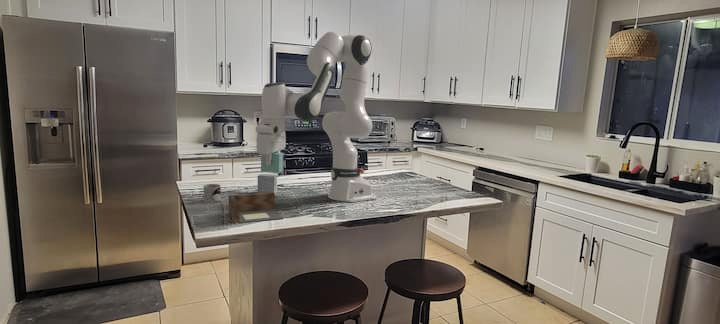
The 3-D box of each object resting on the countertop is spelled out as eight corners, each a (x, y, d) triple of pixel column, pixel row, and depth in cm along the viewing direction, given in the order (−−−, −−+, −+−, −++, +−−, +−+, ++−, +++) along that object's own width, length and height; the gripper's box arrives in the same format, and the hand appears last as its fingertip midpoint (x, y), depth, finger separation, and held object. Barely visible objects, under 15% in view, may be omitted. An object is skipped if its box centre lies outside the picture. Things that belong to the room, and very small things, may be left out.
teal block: (264, 169, 158) (265, 151, 157) (282, 171, 157) (283, 153, 156) (260, 171, 154) (261, 152, 153) (278, 173, 153) (279, 154, 152)
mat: (274, 210, 166) (274, 208, 166) (283, 219, 156) (283, 217, 156) (233, 213, 159) (233, 212, 159) (239, 223, 148) (239, 222, 148)
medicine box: (276, 192, 193) (277, 174, 192) (274, 195, 189) (274, 176, 188) (260, 191, 194) (260, 173, 193) (257, 193, 190) (257, 175, 188)
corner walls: (273, 209, 167) (273, 192, 166) (283, 219, 156) (283, 200, 154) (228, 213, 160) (228, 195, 158) (235, 223, 148) (235, 204, 147)
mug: (215, 203, 171) (215, 188, 170) (200, 202, 172) (200, 186, 171) (227, 197, 181) (227, 183, 180) (213, 196, 182) (212, 181, 181)
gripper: (275, 124, 164) (273, 159, 166) (253, 127, 144) (252, 167, 146) (290, 126, 163) (288, 160, 165) (271, 129, 143) (269, 168, 145)
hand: (271, 163), depth 155 cm, fingers closed on teal block, 4 cm apart
